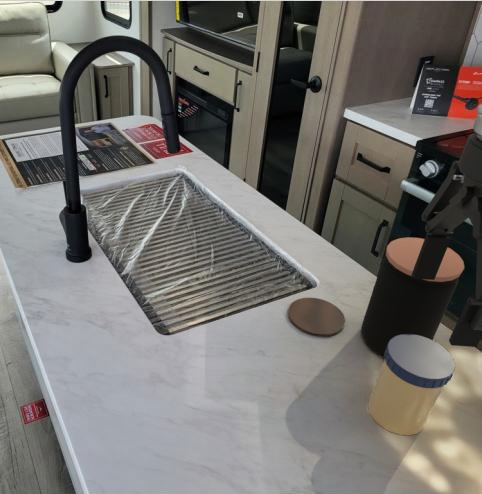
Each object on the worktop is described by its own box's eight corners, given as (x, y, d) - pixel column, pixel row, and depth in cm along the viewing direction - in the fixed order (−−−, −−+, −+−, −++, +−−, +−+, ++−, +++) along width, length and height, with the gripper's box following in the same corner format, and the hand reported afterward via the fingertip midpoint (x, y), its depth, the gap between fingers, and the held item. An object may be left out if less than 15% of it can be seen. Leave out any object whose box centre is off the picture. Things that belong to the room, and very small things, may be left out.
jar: (413, 393, 73) (438, 339, 66) (432, 437, 66) (461, 382, 60) (362, 389, 73) (381, 335, 67) (376, 433, 67) (399, 377, 61)
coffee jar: (420, 326, 85) (455, 242, 75) (432, 370, 76) (473, 282, 66) (357, 316, 87) (382, 233, 77) (362, 357, 79) (391, 270, 69)
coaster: (338, 301, 91) (338, 299, 90) (350, 338, 82) (351, 336, 82) (284, 298, 92) (285, 295, 91) (291, 334, 83) (292, 332, 83)
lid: (436, 344, 67) (440, 335, 66) (461, 391, 60) (466, 381, 59) (376, 340, 68) (379, 331, 67) (394, 386, 61) (398, 376, 60)
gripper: (428, 101, 57) (381, 251, 69) (542, 193, 37) (448, 381, 49) (494, 103, 56) (435, 254, 68) (647, 197, 36) (526, 387, 48)
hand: (440, 308), depth 59 cm, fingers open, 12 cm apart
